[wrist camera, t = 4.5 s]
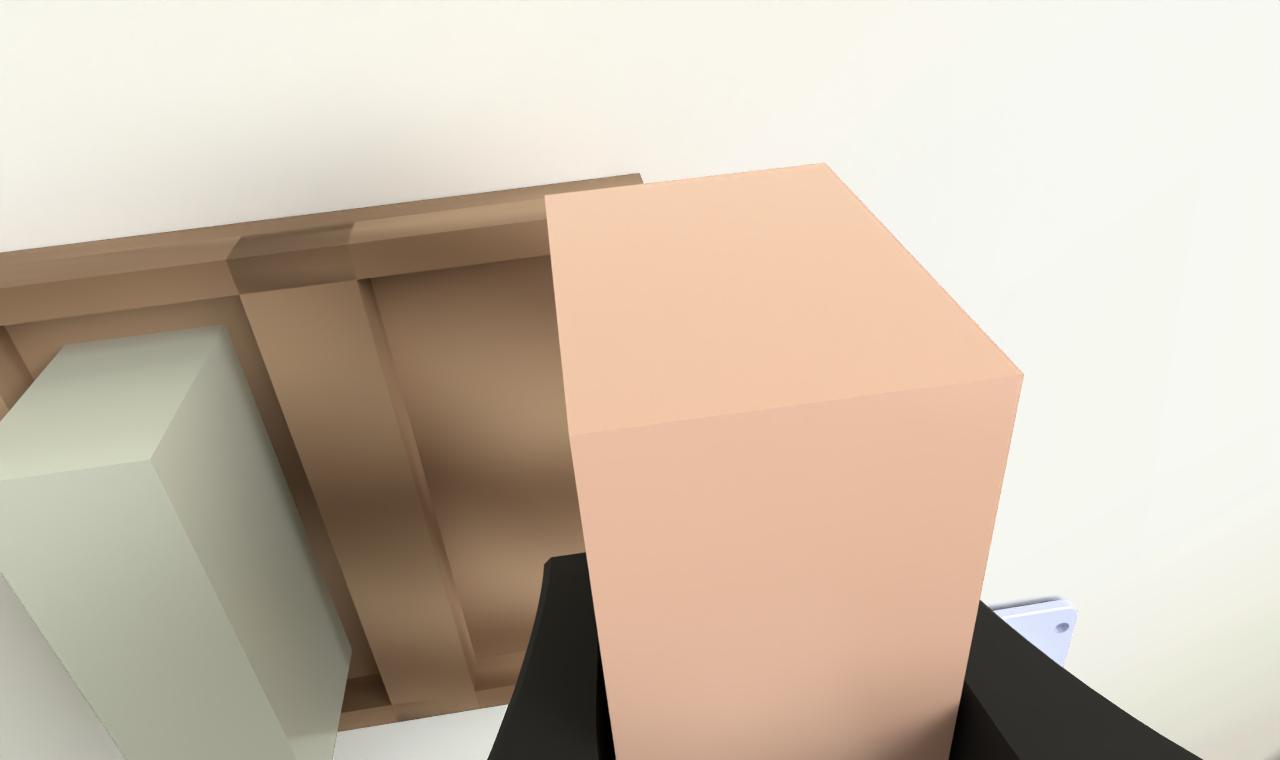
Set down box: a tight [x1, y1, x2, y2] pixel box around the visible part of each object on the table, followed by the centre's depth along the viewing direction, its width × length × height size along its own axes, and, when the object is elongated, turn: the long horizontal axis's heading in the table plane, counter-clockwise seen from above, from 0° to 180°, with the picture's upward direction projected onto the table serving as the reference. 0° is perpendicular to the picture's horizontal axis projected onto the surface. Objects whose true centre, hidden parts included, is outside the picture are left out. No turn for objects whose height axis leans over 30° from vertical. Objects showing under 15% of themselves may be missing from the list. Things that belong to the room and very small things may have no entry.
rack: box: [0, 173, 644, 732], centre depth 23 cm, size 15×15×2 cm
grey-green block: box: [0, 324, 352, 760], centre depth 20 cm, size 11×4×5 cm, turn 5°
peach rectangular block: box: [544, 163, 1024, 760], centre depth 12 cm, size 11×4×5 cm, turn 4°
